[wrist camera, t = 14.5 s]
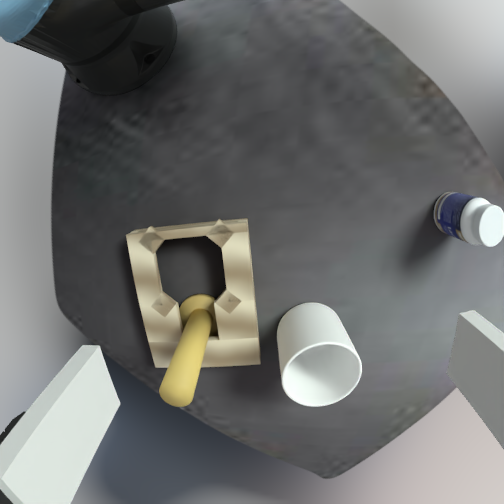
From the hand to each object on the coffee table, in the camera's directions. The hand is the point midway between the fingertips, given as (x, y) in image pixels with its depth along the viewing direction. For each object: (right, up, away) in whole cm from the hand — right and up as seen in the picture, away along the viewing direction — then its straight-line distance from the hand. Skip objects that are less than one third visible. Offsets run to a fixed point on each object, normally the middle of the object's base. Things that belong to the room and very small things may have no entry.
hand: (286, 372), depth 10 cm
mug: (+7, -8, +32) cm, 33 cm away
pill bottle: (+25, +9, +27) cm, 38 cm away
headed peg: (-8, -4, +31) cm, 32 cm away
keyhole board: (-8, -1, +30) cm, 31 cm away
